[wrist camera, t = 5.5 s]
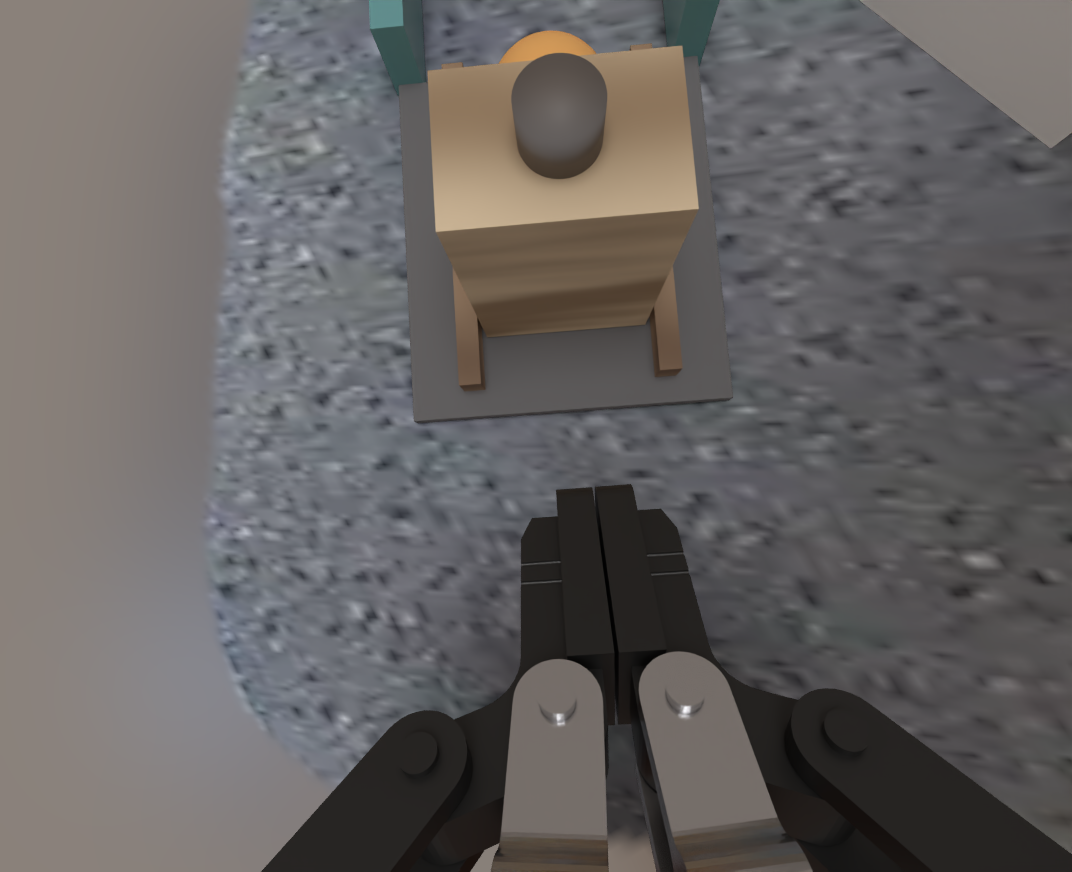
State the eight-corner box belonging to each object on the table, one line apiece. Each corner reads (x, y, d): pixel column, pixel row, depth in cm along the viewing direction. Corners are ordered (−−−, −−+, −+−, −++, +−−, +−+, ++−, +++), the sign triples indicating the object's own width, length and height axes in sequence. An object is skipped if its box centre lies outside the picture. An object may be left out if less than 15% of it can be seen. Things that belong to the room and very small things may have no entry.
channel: (676, 375, 22) (682, 368, 21) (464, 391, 22) (459, 385, 21) (647, 66, 23) (651, 43, 22) (447, 86, 24) (441, 64, 23)
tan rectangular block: (645, 324, 22) (714, 175, 12) (487, 337, 23) (420, 201, 12) (636, 223, 23) (695, -6, 12) (481, 237, 23) (412, 24, 13)
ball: (631, 140, 23) (646, 58, 19) (550, 217, 23) (547, 151, 19) (552, 68, 24) (550, -29, 19) (473, 142, 23) (452, 61, 19)
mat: (728, 400, 22) (732, 397, 22) (417, 423, 23) (413, 421, 22) (694, 66, 24) (697, 55, 23) (402, 95, 24) (398, 84, 24)
